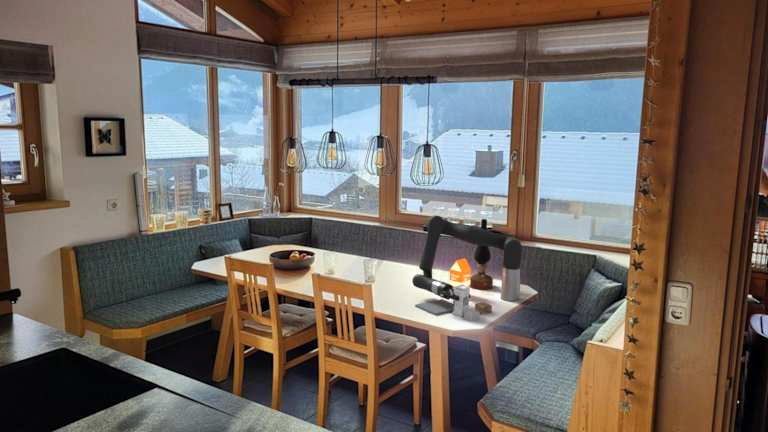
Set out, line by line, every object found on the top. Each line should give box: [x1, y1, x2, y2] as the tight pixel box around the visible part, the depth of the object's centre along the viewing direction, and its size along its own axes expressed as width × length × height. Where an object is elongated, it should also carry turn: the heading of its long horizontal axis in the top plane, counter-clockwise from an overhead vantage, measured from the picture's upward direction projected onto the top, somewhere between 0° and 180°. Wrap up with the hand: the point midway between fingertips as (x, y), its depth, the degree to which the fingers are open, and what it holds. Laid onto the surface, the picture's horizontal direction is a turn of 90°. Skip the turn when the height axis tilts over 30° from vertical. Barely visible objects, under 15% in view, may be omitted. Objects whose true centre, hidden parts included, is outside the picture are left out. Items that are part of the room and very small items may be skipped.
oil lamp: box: [470, 218, 494, 291], centre depth 341 cm, size 14×15×40 cm
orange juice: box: [448, 258, 472, 295], centre depth 323 cm, size 8×9×20 cm
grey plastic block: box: [463, 308, 480, 322], centre depth 286 cm, size 5×5×4 cm
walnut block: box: [474, 301, 493, 315], centre depth 297 cm, size 6×6×4 cm
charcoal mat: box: [414, 298, 453, 316], centre depth 302 cm, size 18×16×1 cm
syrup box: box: [451, 284, 471, 317], centre depth 292 cm, size 6×6×14 cm
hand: (464, 297), depth 290 cm, fingers closed on syrup box, 7 cm apart
